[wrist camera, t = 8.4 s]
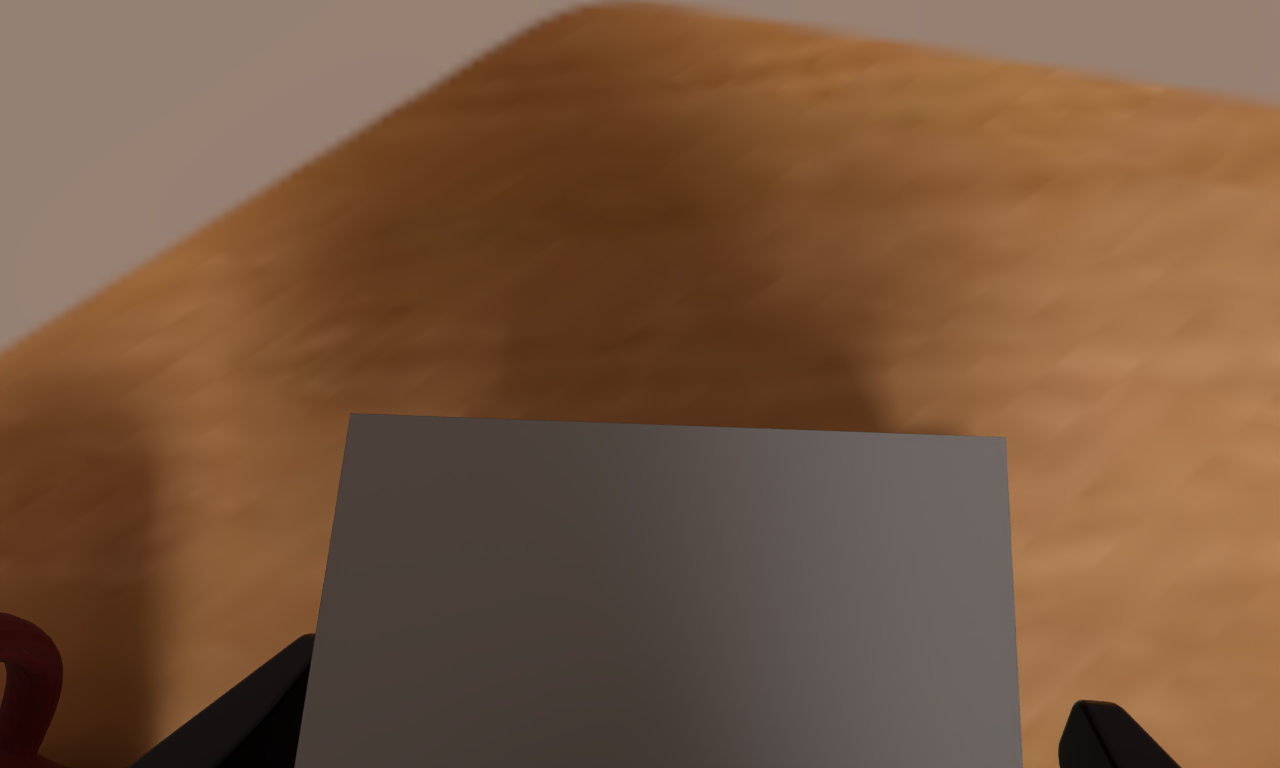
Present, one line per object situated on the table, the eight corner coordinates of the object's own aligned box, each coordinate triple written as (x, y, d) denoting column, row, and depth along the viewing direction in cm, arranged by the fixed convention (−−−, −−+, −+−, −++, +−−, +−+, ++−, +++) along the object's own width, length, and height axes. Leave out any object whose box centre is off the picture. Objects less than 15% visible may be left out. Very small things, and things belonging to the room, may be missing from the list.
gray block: (835, 817, 16) (1058, 1434, 4) (581, 789, 17) (217, 1249, 5) (836, 529, 17) (1006, 436, 6) (602, 516, 18) (351, 414, 7)
